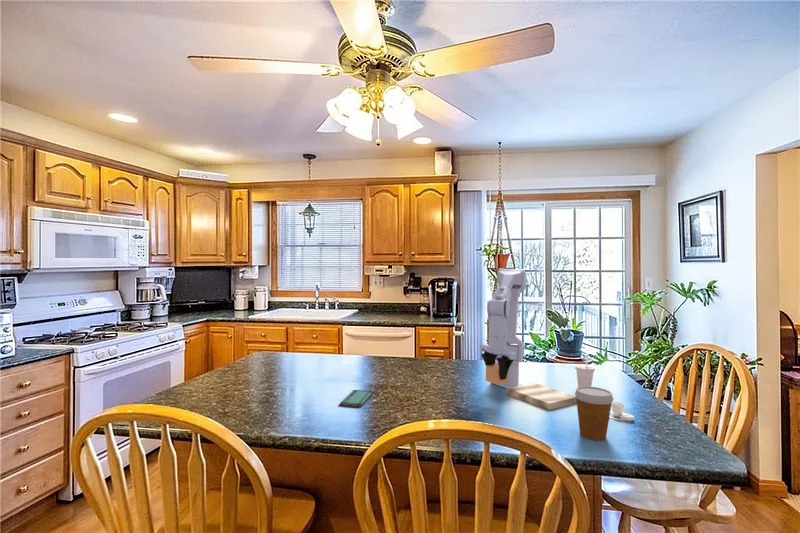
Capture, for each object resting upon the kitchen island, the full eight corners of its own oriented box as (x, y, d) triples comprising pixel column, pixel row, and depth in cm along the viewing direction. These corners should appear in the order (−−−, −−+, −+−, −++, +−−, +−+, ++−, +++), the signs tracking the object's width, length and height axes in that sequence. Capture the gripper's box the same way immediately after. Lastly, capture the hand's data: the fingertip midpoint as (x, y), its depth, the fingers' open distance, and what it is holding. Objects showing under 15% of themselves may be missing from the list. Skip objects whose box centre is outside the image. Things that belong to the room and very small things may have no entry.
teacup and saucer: (638, 424, 120) (638, 410, 120) (609, 421, 121) (609, 408, 121) (627, 413, 128) (627, 400, 128) (600, 411, 130) (600, 398, 130)
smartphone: (338, 403, 129) (353, 389, 144) (338, 407, 129) (353, 392, 144) (361, 405, 127) (374, 390, 142) (361, 409, 127) (373, 394, 142)
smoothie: (596, 397, 143) (597, 357, 143) (576, 395, 144) (577, 356, 144) (591, 391, 149) (592, 353, 149) (572, 390, 150) (573, 352, 150)
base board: (506, 393, 145) (507, 388, 145) (534, 388, 152) (534, 382, 152) (549, 409, 129) (549, 403, 129) (577, 402, 136) (577, 396, 136)
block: (485, 380, 136) (485, 365, 136) (496, 378, 139) (497, 363, 139) (496, 384, 132) (496, 369, 132) (507, 382, 134) (507, 367, 134)
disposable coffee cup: (567, 428, 114) (568, 385, 114) (599, 428, 115) (600, 385, 115) (585, 443, 105) (586, 396, 105) (620, 443, 106) (621, 396, 106)
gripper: (473, 333, 139) (472, 373, 139) (505, 340, 127) (504, 384, 127) (489, 331, 143) (488, 370, 143) (521, 338, 131) (520, 381, 131)
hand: (496, 377), depth 135 cm, fingers closed on block, 5 cm apart
